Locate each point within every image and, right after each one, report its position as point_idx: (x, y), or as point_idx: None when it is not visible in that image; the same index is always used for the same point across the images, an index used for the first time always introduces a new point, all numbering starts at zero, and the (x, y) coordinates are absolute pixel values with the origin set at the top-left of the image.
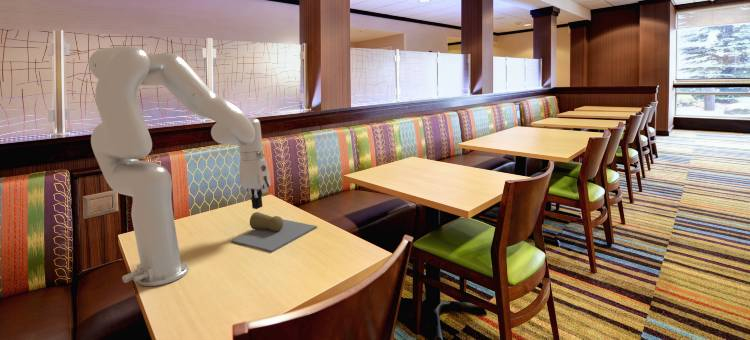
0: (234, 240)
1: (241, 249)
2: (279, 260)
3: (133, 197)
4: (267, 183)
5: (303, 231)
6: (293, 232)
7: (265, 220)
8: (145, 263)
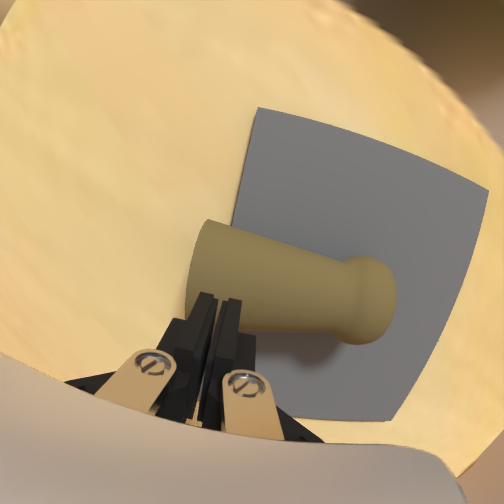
0: None
1: None
2: (418, 432)
3: None
4: (386, 482)
5: (460, 262)
6: (427, 282)
7: (305, 331)
8: None
